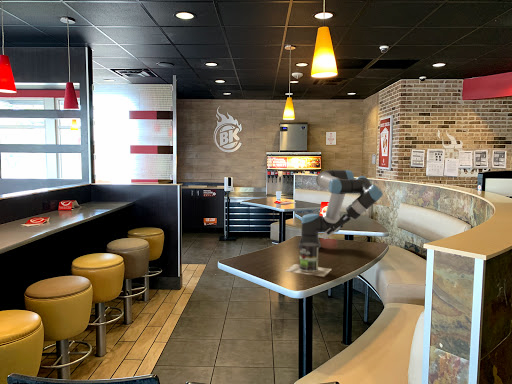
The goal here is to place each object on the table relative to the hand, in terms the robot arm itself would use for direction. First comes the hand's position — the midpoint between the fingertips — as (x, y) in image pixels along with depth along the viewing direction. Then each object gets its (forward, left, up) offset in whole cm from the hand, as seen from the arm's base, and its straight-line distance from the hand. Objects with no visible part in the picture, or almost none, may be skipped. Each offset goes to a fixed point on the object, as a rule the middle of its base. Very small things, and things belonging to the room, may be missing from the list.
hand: (326, 235), depth 210 cm
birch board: (-10, 0, -21) cm, 23 cm away
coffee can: (-9, 0, -20) cm, 22 cm away
